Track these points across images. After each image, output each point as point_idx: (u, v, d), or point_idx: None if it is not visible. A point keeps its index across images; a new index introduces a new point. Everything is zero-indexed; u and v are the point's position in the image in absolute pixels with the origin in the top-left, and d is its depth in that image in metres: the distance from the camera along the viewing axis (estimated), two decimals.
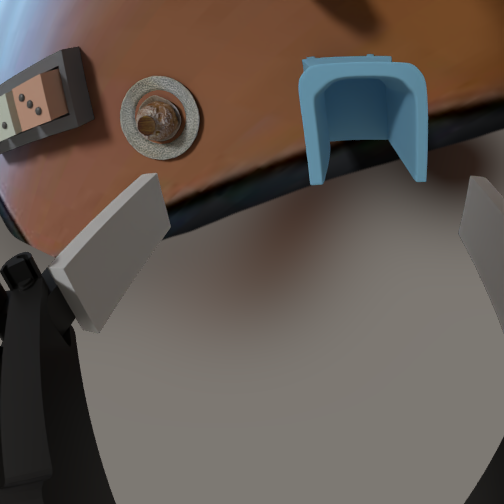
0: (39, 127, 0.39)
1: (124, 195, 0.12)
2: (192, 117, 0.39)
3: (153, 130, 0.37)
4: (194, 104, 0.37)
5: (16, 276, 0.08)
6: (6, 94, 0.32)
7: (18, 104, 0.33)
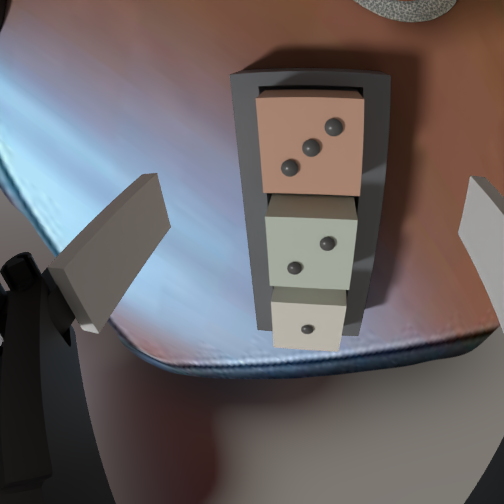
0: (363, 175, 0.25)
1: (124, 195, 0.12)
2: None
3: None
4: None
5: (16, 276, 0.08)
6: (268, 214, 0.25)
7: (300, 184, 0.22)
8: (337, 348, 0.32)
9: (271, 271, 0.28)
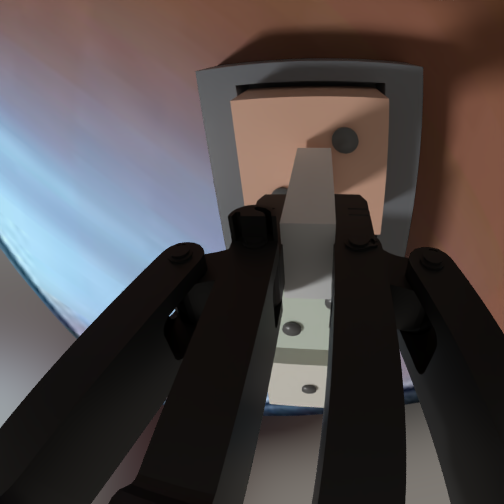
0: (384, 206, 0.18)
1: (301, 163, 0.12)
2: None
3: None
4: None
5: (246, 229, 0.08)
6: None
7: None
8: None
9: None
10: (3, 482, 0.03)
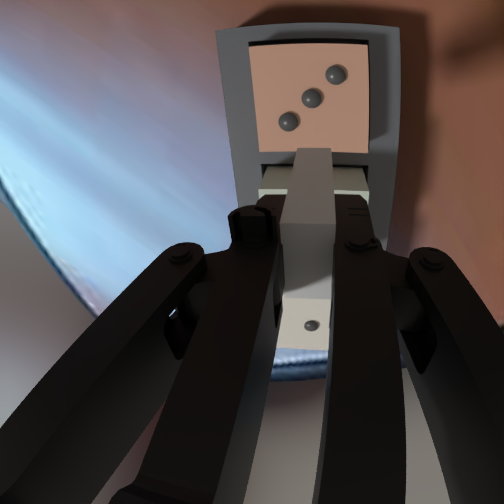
0: (373, 142, 0.20)
1: (301, 163, 0.12)
2: None
3: None
4: None
5: (246, 229, 0.08)
6: (262, 187, 0.21)
7: (301, 140, 0.19)
8: None
9: None
10: (3, 482, 0.03)
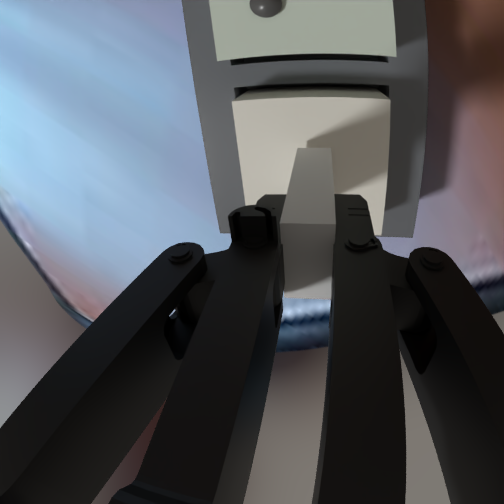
0: None
1: (301, 163, 0.12)
2: None
3: None
4: None
5: (246, 229, 0.08)
6: None
7: None
8: (379, 226, 0.16)
9: (217, 23, 0.10)
10: (3, 482, 0.03)
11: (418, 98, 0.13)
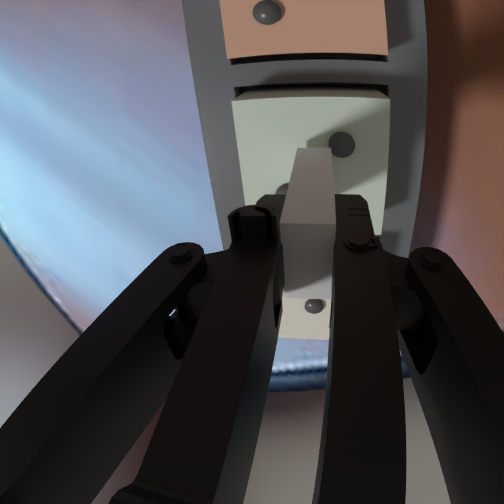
0: (392, 52, 0.12)
1: (301, 163, 0.12)
2: None
3: None
4: None
5: (246, 229, 0.08)
6: (237, 99, 0.13)
7: (287, 37, 0.11)
8: None
9: (249, 204, 0.16)
10: (3, 482, 0.03)
11: (402, 245, 0.18)
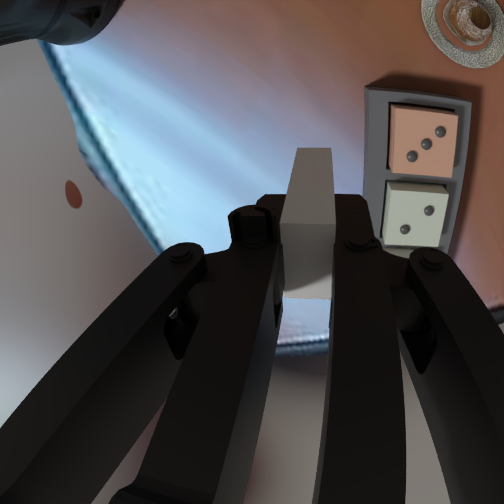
0: None
1: (301, 163, 0.12)
2: None
3: (485, 12, 0.19)
4: None
5: (246, 229, 0.08)
6: (392, 189, 0.32)
7: (417, 168, 0.30)
8: None
9: (388, 232, 0.35)
10: (3, 482, 0.03)
11: (444, 252, 0.37)
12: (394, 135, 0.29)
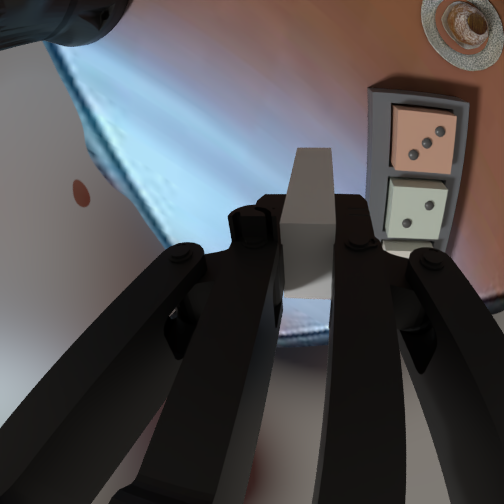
0: None
1: (301, 163, 0.12)
2: None
3: (482, 18, 0.21)
4: None
5: (246, 229, 0.08)
6: (395, 185, 0.34)
7: (418, 165, 0.32)
8: None
9: (391, 226, 0.37)
10: (3, 482, 0.03)
11: (443, 244, 0.39)
12: (397, 135, 0.31)
